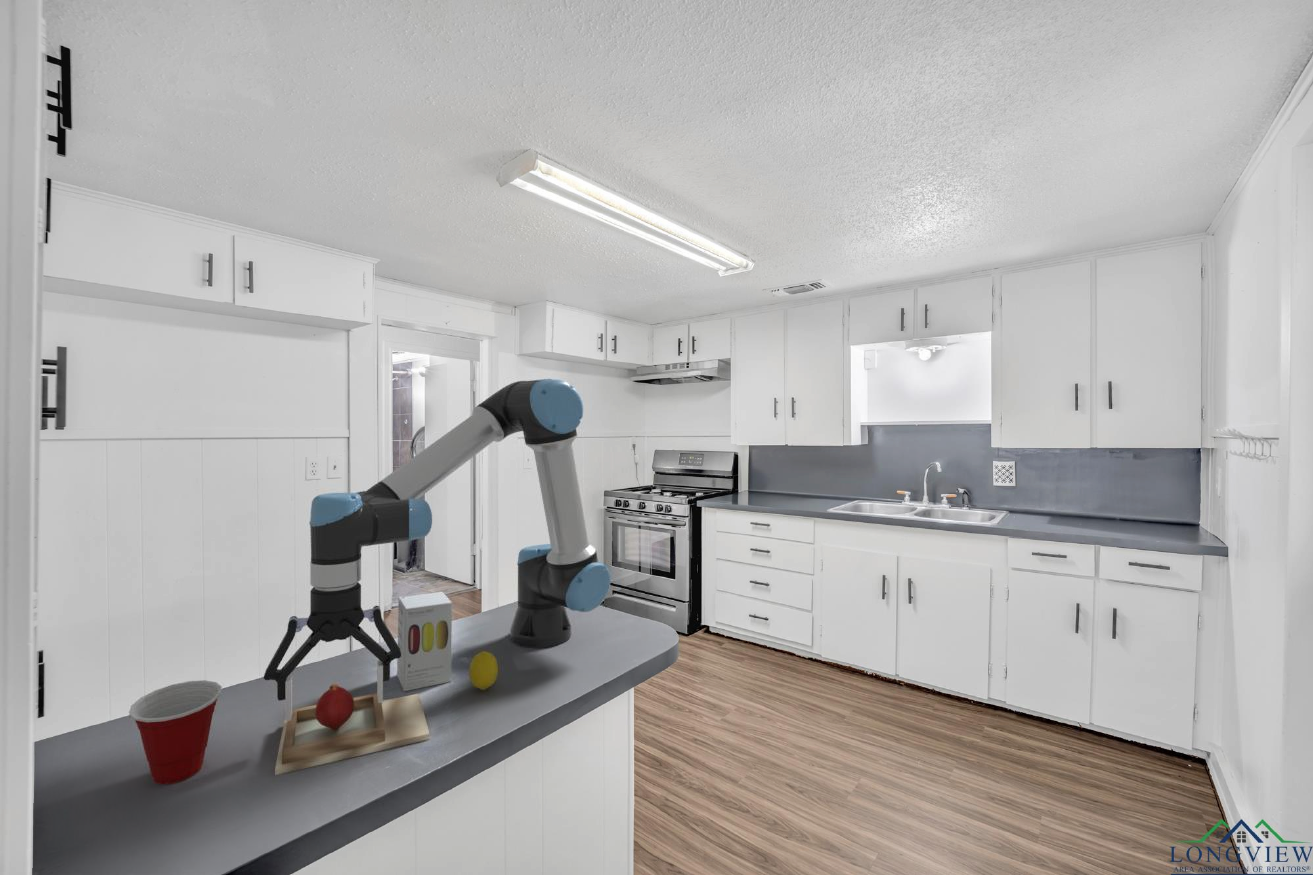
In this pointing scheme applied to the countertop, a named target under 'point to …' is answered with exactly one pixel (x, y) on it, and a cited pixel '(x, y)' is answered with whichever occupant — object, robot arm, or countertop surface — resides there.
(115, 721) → the countertop surface
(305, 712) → the board
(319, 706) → the onion
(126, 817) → the countertop surface
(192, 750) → the plastic cup
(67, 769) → the countertop surface
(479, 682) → the lemon
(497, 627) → the countertop surface
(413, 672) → the supplement box
